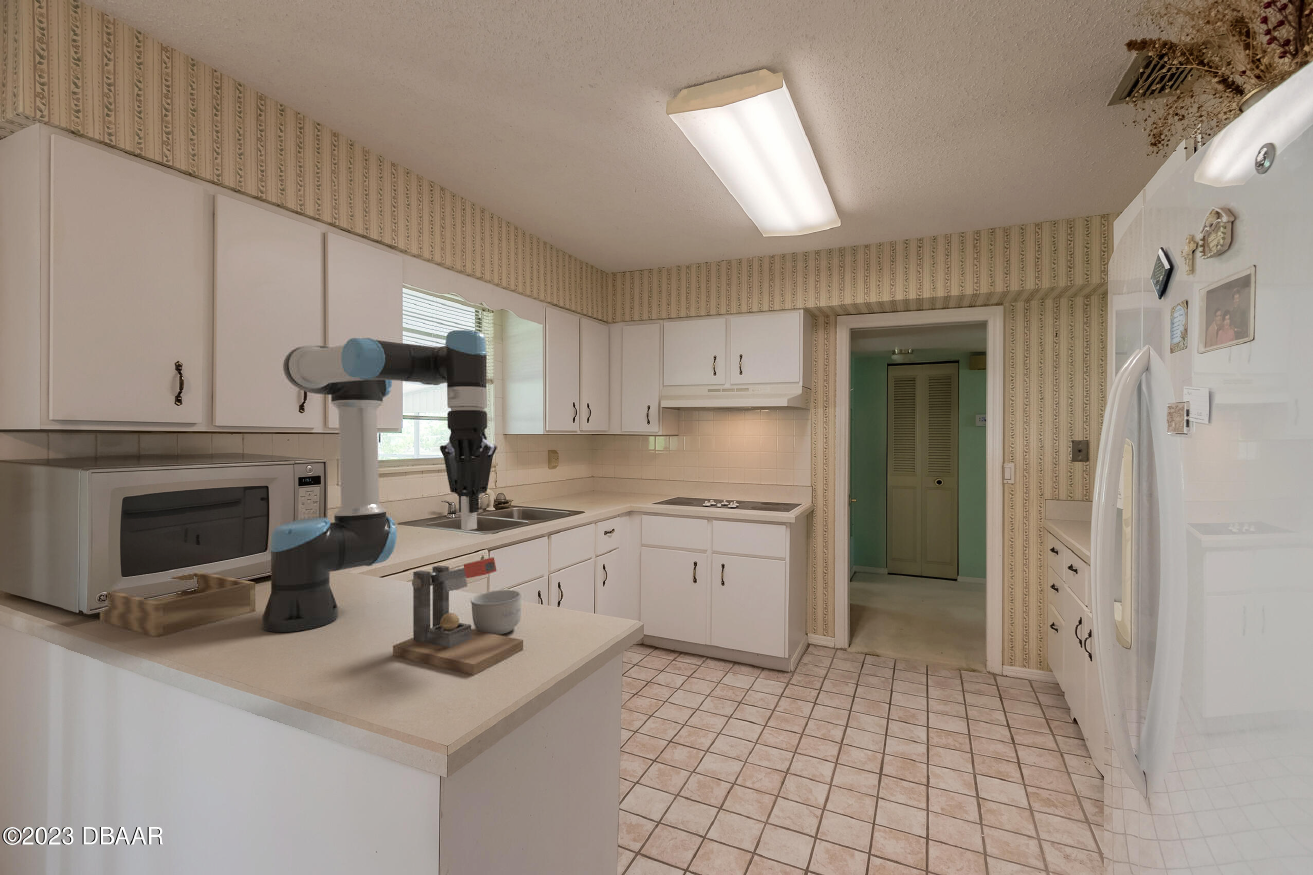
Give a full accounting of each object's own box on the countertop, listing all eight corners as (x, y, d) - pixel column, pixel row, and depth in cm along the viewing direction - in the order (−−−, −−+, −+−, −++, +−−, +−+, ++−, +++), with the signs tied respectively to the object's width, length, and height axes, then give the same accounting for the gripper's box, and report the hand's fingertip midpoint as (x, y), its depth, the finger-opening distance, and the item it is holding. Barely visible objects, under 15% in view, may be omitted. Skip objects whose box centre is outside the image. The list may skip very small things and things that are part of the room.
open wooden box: (100, 620, 138) (99, 590, 138) (199, 598, 156) (199, 571, 156) (156, 636, 127) (155, 604, 127) (255, 610, 145) (255, 582, 145)
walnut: (436, 632, 119) (436, 614, 119) (449, 626, 123) (449, 609, 123) (449, 634, 118) (449, 616, 118) (462, 629, 121) (462, 611, 121)
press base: (392, 655, 117) (392, 574, 117) (446, 633, 130) (446, 560, 130) (474, 675, 108) (474, 587, 108) (523, 649, 121) (523, 571, 121)
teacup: (508, 641, 126) (508, 603, 126) (461, 637, 128) (461, 600, 128) (534, 620, 139) (534, 586, 139) (491, 617, 142) (491, 583, 142)
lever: (423, 596, 121) (419, 573, 121) (435, 592, 124) (431, 570, 124) (487, 583, 114) (482, 560, 114) (498, 580, 117) (493, 557, 117)
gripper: (428, 410, 117) (430, 530, 117) (479, 407, 111) (481, 533, 111) (456, 411, 124) (458, 524, 124) (505, 409, 118) (507, 528, 118)
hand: (469, 528), depth 117 cm, fingers closed
